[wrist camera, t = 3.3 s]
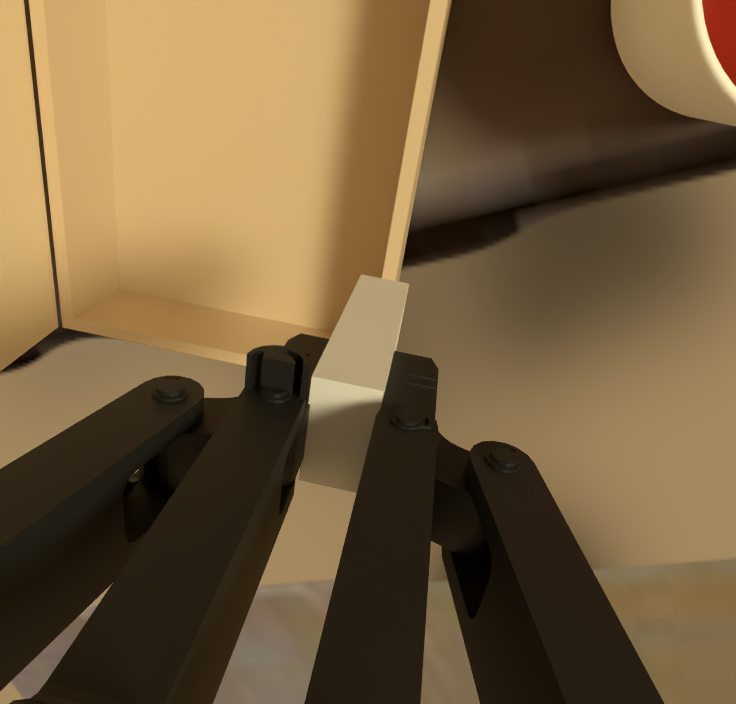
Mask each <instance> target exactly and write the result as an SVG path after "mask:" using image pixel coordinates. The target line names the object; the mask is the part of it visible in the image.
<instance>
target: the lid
mask: <svg viewBox="0 0 736 704" xmlns="http://www.w3.org/2000/svg"><path fill="white" fill-rule="evenodd" d="M56 328H58V317H57V308H56V298H55V289H54V280H53V270H52V261H51V252H50V242H49V233H48V223H47V214H46V205H45V195H44V186H43V177H42V167H41V158H40V148H39V139H38V130H37V120H36V111H35V102H34V92H33V83H32V73H31V64H30V55H29V45H28V36H27V27H26V17H25V8H24V0H0V371H1V370H3V369H4V368H5V367H7V366H8V365H9V364H10V363H12V362H13V361H14V360H16V359H17V358H18V357H20V356H21V355H22V354H24V353H25V352H26V351H27V350H29V349H30V348H31V347H33V346H34V345H35V344H37V343H38V342H39V341H41V340H42V339H43V338H44V337H46V336H47V335H48V334H50V333H51V332H52V331H54V330H55V329H56Z"/></svg>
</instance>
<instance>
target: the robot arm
mask: <svg viewBox="0 0 736 704" xmlns="http://www.w3.org/2000/svg"><path fill="white" fill-rule="evenodd" d="M408 287H409V284H407V283H402V282H397V281H392V280H387V279H382V278H377V277H372V276H367V275H362V274H361V276H360V278H359V280H358V282H357V284H356V286H355V288H354V290H353V292H352V294H351V296H350V298H349V300H348V303H347V305H346V307H345V309H344V311H343V313H342V315H341V317H340V319H339V321H338V323H337V325H336V327H335V329H334V331H333V333H332V336H331V338H330V339H327V338H322V337H317V336H312V335H307V334H302V333H300V334H298V335H296V336H294V337H292V338H291V339H289V340H288V341H287V342H286V344H285V345H284V346H280V345H267V346H261V347H257V348H254V349H252V350H251V351H250V352H248V353H247V359H246V375H245V388H244V389H243V391H242V392H241V394H240V395H239V397H233V398H204V389H203V387H202V386H201V385H200V384H199V383H198V382H196V381H194V380H192V379H189V378H185V377H181V376H163V377H158V378H153V379H151V380H149V381H146V382H144V383H143V384H141V385H139V386H137V387H136V388H134V389H132V390H131V391H129V392H128V393H126V394H124V395H122V396H121V397H119V398H118V399H116V400H114V401H112V402H111V403H109V404H108V405H106V406H104V407H102V408H101V409H99V410H97V411H96V412H94V413H92V414H91V415H89V416H88V417H86V418H84V419H83V420H81V421H79V422H78V423H76V424H74V425H73V426H71V427H69V428H68V429H66V430H64V431H63V432H61V433H60V434H58V435H56V436H54V437H53V438H51V439H49V440H48V441H46V442H44V443H43V444H41V445H39V446H38V447H36V448H34V449H33V450H31V451H29V452H28V453H26V454H24V455H23V456H21V457H19V458H18V459H16V460H14V461H13V462H11V463H10V464H8V465H6V466H5V467H3V468H1V469H0V691H1V690H2V689H3V688H4V687H5V686H6V685H7V684H8V683H9V682H10V681H11V680H12V679H14V678H15V677H16V676H17V675H18V674H19V673H20V672H21V671H22V670H23V669H24V668H25V667H26V666H27V665H28V664H29V663H30V662H31V661H32V660H33V659H34V658H35V657H36V656H37V655H38V654H39V653H40V652H42V651H43V650H44V649H45V648H46V647H47V646H48V645H49V644H50V643H51V642H52V641H53V640H54V639H55V638H56V637H57V636H58V635H59V634H60V633H61V632H62V631H63V630H64V629H65V628H66V627H67V626H69V625H70V624H71V623H72V622H73V621H74V620H75V619H76V618H77V617H78V616H79V615H80V614H81V613H82V612H83V611H84V610H85V609H86V608H87V607H88V606H89V605H90V604H91V603H92V602H93V601H94V600H95V599H97V598H98V597H99V596H100V594H102V593H103V592H104V591H105V590H106V589H107V588H108V587H109V586H110V585H111V584H112V583H113V584H112V585H111V587H110V588H109V590H108V591H107V593H106V594H105V596H104V597H103V599H102V600H101V602H100V603H99V604H98V606H97V607H96V609H95V610H94V612H93V613H92V615H91V616H90V618H89V619H88V621H87V622H86V624H85V625H84V627H83V628H82V630H81V631H80V633H79V634H78V636H77V637H76V639H75V640H74V642H73V643H72V645H71V646H70V648H69V649H68V650H67V652H66V653H65V655H64V656H63V658H62V659H61V661H60V662H59V664H58V665H57V667H56V668H55V670H54V671H53V673H52V674H51V676H50V677H49V679H48V680H47V682H46V683H45V684H44V685H43V687H42V688H41V689H40V691H39V692H38V693H37V694H35V695H34V696H33V697H32V698H30V699H23V700H14V701H12V702H11V703H10V704H213V702H214V699H215V696H216V694H217V691H218V689H219V686H220V684H221V681H222V678H223V676H224V673H225V671H226V668H227V665H228V663H229V660H230V658H231V655H232V653H233V650H234V647H235V645H236V642H237V640H238V637H239V635H240V632H241V629H242V627H243V624H244V622H245V619H246V616H247V614H248V611H249V609H250V606H251V604H252V601H253V598H254V596H255V593H256V591H257V588H258V585H259V583H260V580H261V578H262V575H263V573H264V570H265V567H266V565H267V562H268V560H269V557H270V555H271V552H272V549H273V547H274V544H275V542H276V539H277V536H278V534H279V531H280V529H281V526H282V524H283V521H284V518H285V516H286V513H287V511H288V508H289V505H290V503H291V500H292V498H293V495H294V487H295V478H296V475H297V473H298V470H299V468H300V474H299V480H302V481H306V482H311V483H315V484H320V485H324V486H329V487H334V488H338V489H342V490H348V491H352V492H356V493H357V494H356V498H355V502H354V506H353V510H352V514H351V518H350V523H349V526H348V531H347V534H346V538H345V543H344V546H343V550H342V554H341V558H340V563H339V567H338V571H337V575H336V579H335V583H334V587H333V591H332V595H331V599H330V603H329V607H328V611H327V615H326V619H325V623H324V627H323V631H322V635H321V639H320V643H319V647H318V651H317V655H316V659H315V663H314V667H313V671H312V675H311V679H310V683H309V687H308V691H307V695H306V700H305V704H420V700H421V685H422V669H423V654H424V638H425V623H426V607H427V592H428V576H429V561H430V545H431V541H433V542H435V543H437V544H439V545H441V546H442V559H443V562H444V566H445V570H446V574H447V578H448V582H449V586H450V589H451V593H452V597H453V601H454V605H455V609H456V612H457V616H458V620H459V624H460V628H461V632H462V635H463V639H464V643H465V647H466V651H467V655H468V658H469V662H470V666H471V670H472V674H473V678H474V681H475V685H476V689H477V693H478V697H479V701H480V704H664V702H663V700H662V698H661V697H660V695H659V693H658V691H657V689H656V687H655V685H654V684H653V682H652V680H651V678H650V676H649V674H648V673H647V671H646V669H645V667H644V665H643V663H642V661H641V660H640V658H639V656H638V654H637V652H636V650H635V648H634V647H633V645H632V643H631V641H630V639H629V637H628V636H627V634H626V632H625V630H624V628H623V626H622V624H621V623H620V621H619V619H618V617H617V615H616V613H615V611H614V610H613V608H612V606H611V604H610V602H609V600H608V598H607V597H606V595H605V593H604V591H603V589H602V587H601V586H600V584H599V582H598V580H597V578H596V576H595V574H594V573H593V571H592V569H591V567H590V565H589V564H588V561H587V560H586V558H585V556H584V554H583V552H582V550H581V549H580V547H579V545H578V543H577V541H576V539H575V537H574V536H573V534H572V532H571V530H570V528H569V526H568V525H567V523H566V521H565V519H564V517H563V515H562V513H561V512H560V510H559V508H558V506H557V504H556V502H555V500H554V499H553V497H552V495H551V493H550V491H549V489H548V488H547V486H546V484H545V482H544V480H543V478H542V476H541V475H540V473H539V471H538V469H537V467H536V465H535V463H534V462H533V461H532V460H531V459H530V457H529V456H528V455H527V454H525V453H524V452H522V451H521V450H520V449H518V448H516V447H514V446H512V445H509V444H506V443H501V442H496V441H485V442H480V443H478V444H476V445H474V446H473V448H472V449H471V451H468V450H465V449H463V448H460V447H458V446H456V445H455V444H453V443H451V442H449V441H448V440H447V439H445V438H444V437H443V436H442V435H441V434H440V433H439V432H438V426H437V422H436V420H435V411H436V397H437V383H438V382H437V381H438V368H437V366H436V365H435V363H434V362H433V360H432V359H431V358H427V357H422V356H417V355H412V354H407V353H402V352H397V351H396V347H397V343H398V338H399V333H400V327H401V322H402V318H403V312H404V307H405V302H406V297H407V292H408ZM300 465H301V466H300ZM138 469H139V471H137V470H138ZM136 471H137V472H136ZM135 472H136V473H135ZM134 473H135V474H134ZM133 474H134V475H133Z"/></svg>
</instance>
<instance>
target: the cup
mask: <svg viewBox="0 0 736 704" xmlns="http://www.w3.org/2000/svg"><path fill="white" fill-rule="evenodd" d="M611 22H612V29H613V35H614V39H615V43H616V47H617V50H618V53H619V55H620V58H621V60H622V63H623V64H624V66H625V68H626V70H627V72H628V73H629V75H630V76H631V78H632V79H633V80H634V82H635V83H636V84H637V86H638V87H639V88H640V89H641V90H642V91H643V92H644V93H645V94H646V95H648V96H649V97H650V98H652V99H653V100H654V101H656V102H657V103H658V104H660V105H662V106H664V107H665V108H667V109H669V110H671V111H674V112H676V113H679V114H682V115H685V116H688V117H693V118H698V119H703V120H708V121H713V122H718V123H723V124H728V125H733V126H736V0H611Z"/></svg>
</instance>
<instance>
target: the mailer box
mask: <svg viewBox="0 0 736 704" xmlns="http://www.w3.org/2000/svg"><path fill="white" fill-rule="evenodd" d="M451 4H452V0H29V8H30V17H31V27H32V37H33V46H34V56H35V66H36V75H37V85H38V95H39V104H40V114H41V124H42V134H43V143H44V153H45V163H46V172H47V182H48V192H49V201H50V211H51V221H52V231H53V240H54V250H55V260H56V269H57V279H58V289H59V298H60V308H61V318H62V327H63V328H68V329H72V330H77V331H82V332H87V333H92V334H96V335H101V336H106V337H111V338H116V339H120V340H125V341H130V342H135V343H139V344H144V345H149V346H154V347H159V348H164V349H168V350H173V351H178V352H183V353H187V354H192V355H197V356H202V357H206V358H212V359H216V360H221V361H225V362H230V363H235V364H240V365H245V366H246V359H247V353H248V352H250V351H251V350H252V349H254V348H257V347H261V346H267V345H280V346H284V345H285V344H286V342H287V341H288V340H289V339H291V338H292V337H294V336H296V335H298V334H300V333H302V334H307V335H312V336H317V337H322V338H327V339H330V338H331V336H332V333H333V331H334V329H335V327H336V325H337V323H338V321H339V319H340V317H341V315H342V313H343V311H344V309H345V307H346V305H347V303H348V300H349V298H350V296H351V294H352V292H353V290H354V288H355V286H356V284H357V282H358V280H359V278H360V276H361V274H362V275H367V276H372V277H377V278H382V279H387V280H392V281H397V282H399V278H400V273H401V267H402V262H403V257H404V252H405V246H406V241H407V236H408V230H409V225H410V220H411V215H412V209H413V204H414V199H415V194H416V188H417V183H418V178H419V173H420V167H421V162H422V157H423V152H424V146H425V141H426V136H427V131H428V125H429V120H430V115H431V109H432V104H433V99H434V94H435V88H436V83H437V78H438V73H439V67H440V62H441V57H442V52H443V46H444V41H445V36H446V31H447V25H448V20H449V15H450V10H451Z"/></svg>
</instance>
